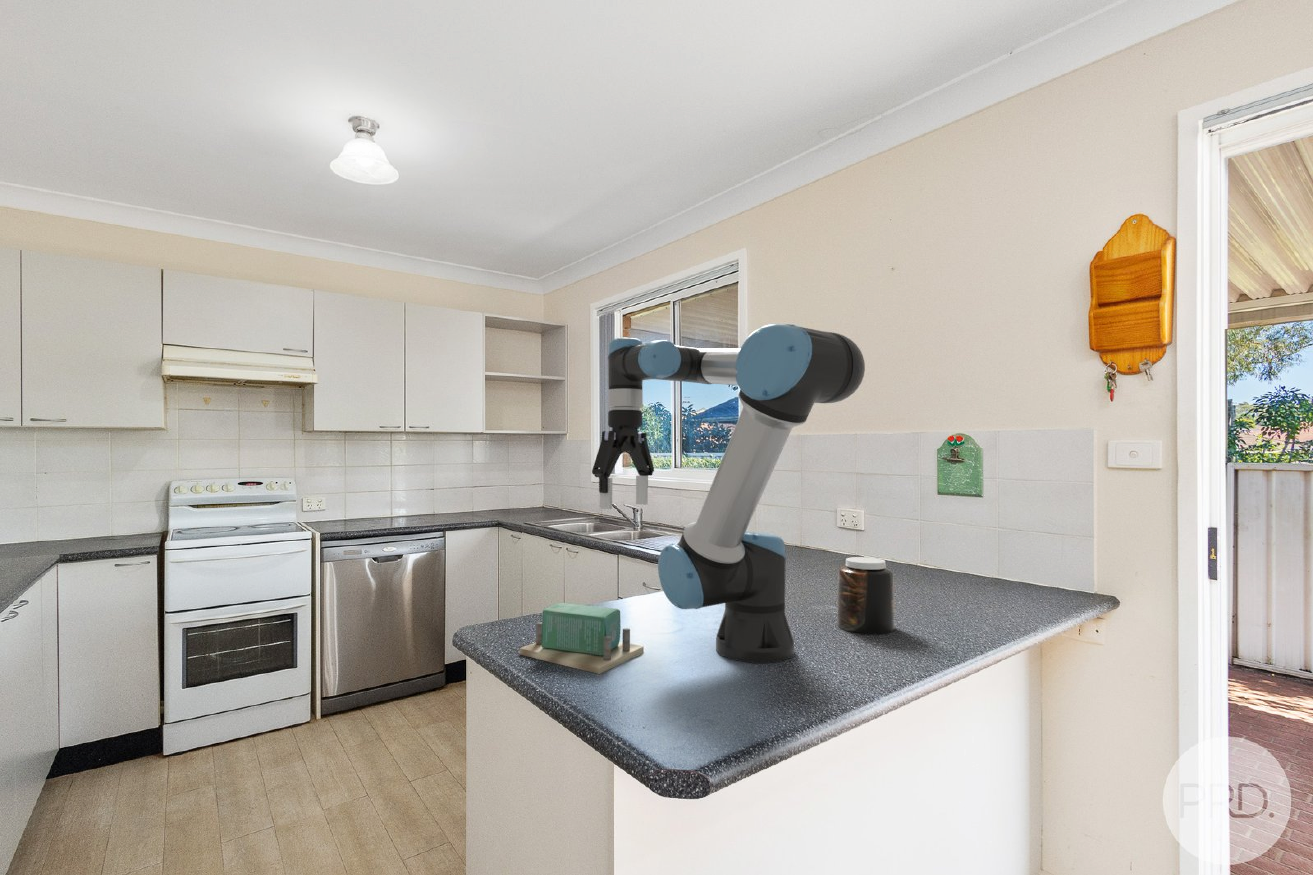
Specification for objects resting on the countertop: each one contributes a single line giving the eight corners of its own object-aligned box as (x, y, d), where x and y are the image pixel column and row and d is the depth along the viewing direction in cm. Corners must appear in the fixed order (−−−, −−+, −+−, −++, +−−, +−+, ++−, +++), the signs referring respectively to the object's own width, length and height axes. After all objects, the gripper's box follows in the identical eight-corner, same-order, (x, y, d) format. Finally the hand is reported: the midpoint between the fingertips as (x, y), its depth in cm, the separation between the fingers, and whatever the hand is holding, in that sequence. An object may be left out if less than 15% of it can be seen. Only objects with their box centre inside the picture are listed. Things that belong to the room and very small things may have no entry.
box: (606, 657, 116) (606, 615, 116) (540, 649, 120) (541, 609, 121) (621, 645, 123) (621, 607, 123) (559, 638, 127) (559, 601, 127)
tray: (643, 652, 123) (643, 625, 123) (599, 674, 111) (599, 644, 111) (567, 636, 133) (568, 611, 133) (519, 654, 121) (520, 627, 121)
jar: (875, 638, 133) (875, 566, 133) (827, 626, 142) (827, 559, 142) (903, 628, 141) (903, 560, 141) (856, 617, 150) (856, 553, 150)
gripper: (642, 413, 152) (641, 501, 152) (575, 406, 131) (574, 509, 130) (669, 412, 148) (668, 503, 148) (604, 405, 127) (603, 511, 126)
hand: (624, 506), depth 139 cm, fingers open, 13 cm apart
